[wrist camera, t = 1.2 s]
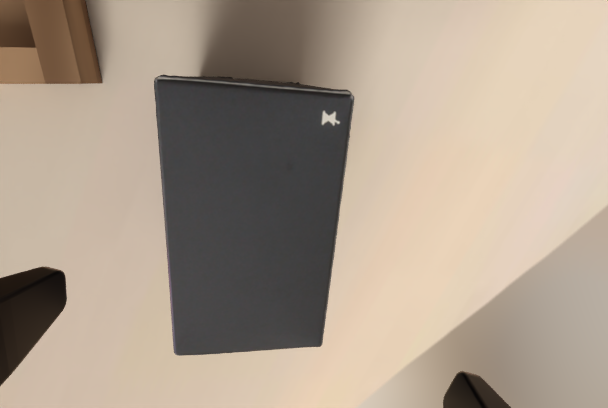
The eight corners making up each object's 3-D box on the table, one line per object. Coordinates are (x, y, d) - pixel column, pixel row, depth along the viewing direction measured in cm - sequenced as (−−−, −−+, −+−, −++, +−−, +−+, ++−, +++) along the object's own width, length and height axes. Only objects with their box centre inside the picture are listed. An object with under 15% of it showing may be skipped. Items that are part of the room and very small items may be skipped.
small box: (190, 73, 18) (139, 65, 9) (303, 82, 20) (365, 84, 10) (196, 240, 22) (165, 365, 12) (291, 239, 23) (330, 350, 14)
